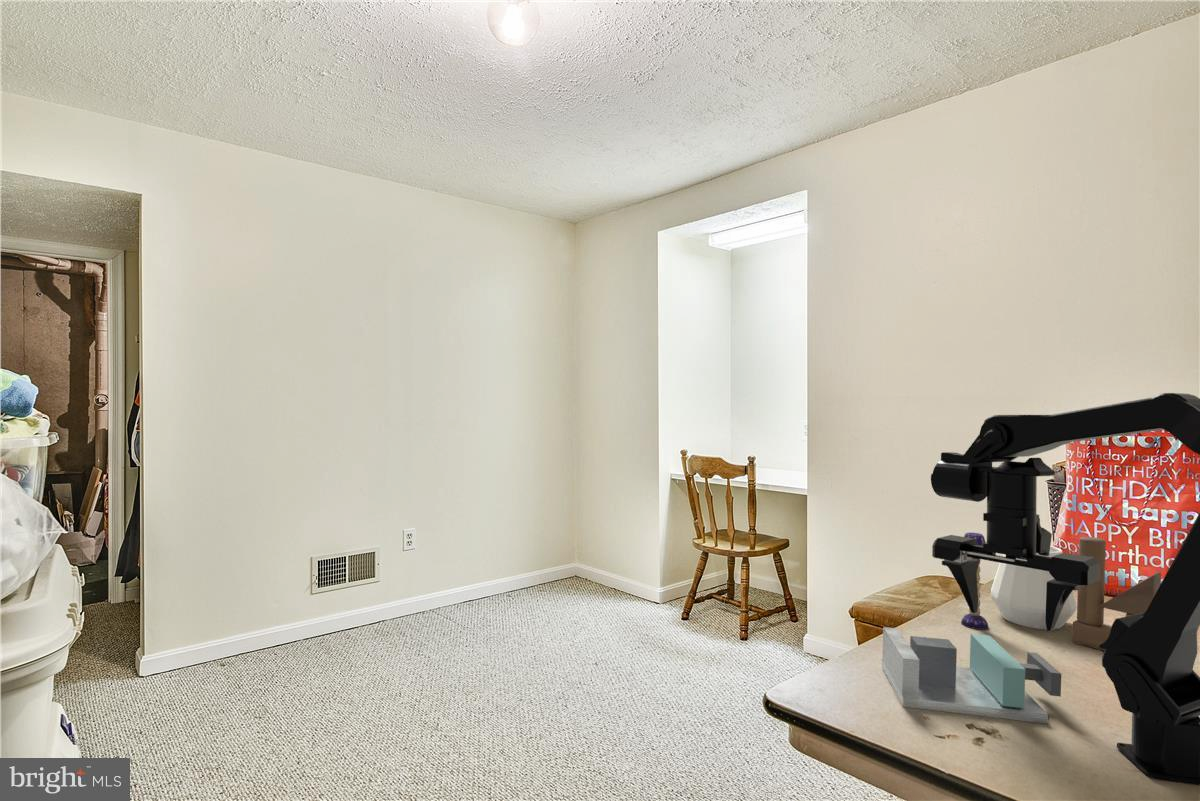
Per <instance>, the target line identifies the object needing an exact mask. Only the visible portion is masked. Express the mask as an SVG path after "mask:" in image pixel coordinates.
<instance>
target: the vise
mask: <svg viewBox="0 0 1200 801" xmlns="http://www.w3.org/2000/svg"><path fill="white" fill-rule="evenodd" d="M880 663H881V666H882V667H881V666H880V667H881V669H882V668H883V669H882V671H883V670H884V671H883V672H885V673H884V674H885V676H886V675H887V676H886V678H887V677H888V678H887V680H888V679H889V680H888V682H889V681H890V682H889V684H890V683H891V684H890V686H891V685H892V686H891V687H892V689H893V691H894V693H895V695H896V697H897V699H898V700H899V702H900V704H901V707H904V708H910V709H911V708H912V709H921V710H929V711H937V712H945V713H946V712H947V713H954V714H964V715H971V716H979V717H987V718H996V719H1006V720H1013V721H1021V722H1031V723H1039V724H1048V723H1049V713H1047V712H1046V711H1045V709H1044V708H1043V707H1041V706H1040V704H1039V703H1038V702H1036V700H1035V699H1033V697H1032V696H1031V695H1030V694H1029V693H1028V692H1027V691H1026V690H1025V698H1024V708H1018V707H1009V706H1002V705H1001V703H1000V702H999V701H998V700H997V699H996V698H995V697H994V695H993V694H992V693H991V692H990V691H989V690H988V688H987V687H986V686H985V685H984V684H983V683H982V681H981V680H980V679H979V678H978V677H977V676H976V675H975V673H974V672H973V671H972V670H971V669H970V667H965V666H963V667H962V666H956V689H950V688H941V687H932V686H923V685H919V659H918V657H917V656H916V654H915V653H914V651H913V650H912V649H911V647H910V643H908V642H907V640H906V639H905V637H904V636H903V634H902V633H901V631H900V630H899V628H896V627H886V626H883V627H882V658H881V662H880Z"/></svg>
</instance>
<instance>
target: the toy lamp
mask: <svg viewBox="0 0 1200 801" xmlns="http://www.w3.org/2000/svg"><path fill="white" fill-rule="evenodd" d="M963 537H968V538H974V539H975V540H976V542H977V544H978V545H979V546H983V543H986V542H987V541H986V539H985V537H984V535H983V534H982V533H980V532H966V533H964V535H963ZM972 559H977V558H972ZM977 560H980V561H979V565H978V569H977V589H978V609H977V612H976V613H972V612H971V610H970V608H969V607H968V612H969V613H967V614H965V615H963V617H962V618H961V621H960V622H961V624H962V625H963V626H964V627H968V628H970V629H976V630H986V629H988V628H989V624H988V621H987V619H985V617H984V616H982V615H981V609H980V606H981V601H980V598H981V592H980V590H981V583H980V581H981V575H980V572H981V566H980V564H981V559H977Z"/></svg>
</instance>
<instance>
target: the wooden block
mask: <svg viewBox="0 0 1200 801" xmlns="http://www.w3.org/2000/svg"><path fill="white" fill-rule="evenodd" d="M1078 540H1079V541H1078V555H1082V556H1088V557H1095V559H1096V560H1097V561H1098V562H1099V564H1100V566H1101V579H1100V580H1098V581H1096V582H1094V583H1092V584H1090V585H1088V586H1087V585H1085V586H1083V587H1081V588H1079V589H1077V597H1076V598H1077V602H1076V607H1077V608H1076V620H1075V621H1074V620H1073V621H1072V634H1071V635H1072V636H1071V638H1072V639H1071V640H1072V642H1073V643H1074V644H1077V645H1082V646H1085V647H1089V648H1093V649H1096V650H1100V651H1103V652H1105V650H1106V649H1101V648H1100V647H1099V645H1101V644H1102V643H1104V642H1105V641H1106V640H1107V639H1108V637H1109V634H1110V631H1111V627H1112V625H1109V624H1105V622H1104V619H1105V618H1104V616H1105V609H1107V610H1111V611H1117V612H1121V613H1124V614H1125V617H1126V616H1131V615H1135V614H1139V613H1145V612H1146V611H1147V609H1148V607H1149V605H1150V603H1151V601H1152V600H1153V598H1154V596H1155V594H1156V592H1157V590H1158V588H1159V587H1160V585H1161V583H1162V572H1161V571H1159V572H1156V573H1153V574H1152V575H1150V576H1149V577H1147V578H1145V579H1143V580H1142V581H1139V582H1138V583H1136V584H1135V585H1133V586H1131V587H1130V588H1128V589H1126V590H1125V591H1123V592H1121V593H1118V595H1115V596H1114V597H1112V598H1110V599H1108V600H1107V601H1105V587H1106V586H1105V585H1106V581H1105V580H1106V577H1105V576H1106V554H1107V553H1106V549H1107V548H1106V547H1107V543H1106V539H1103V538H1099V537H1095V536H1094V537H1093V536H1081V537H1079V539H1078Z"/></svg>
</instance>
